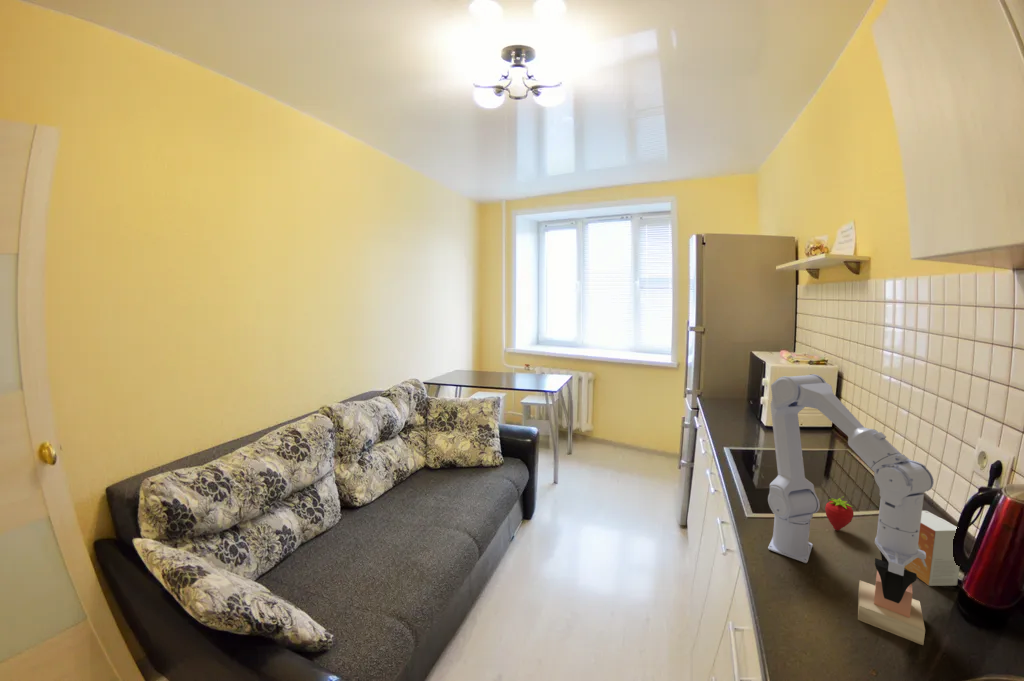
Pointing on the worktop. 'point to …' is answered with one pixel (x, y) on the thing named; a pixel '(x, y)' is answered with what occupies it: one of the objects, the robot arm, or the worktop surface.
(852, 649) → the worktop surface
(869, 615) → the birch base block
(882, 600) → the terracotta cube
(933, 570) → the small box
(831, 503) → the strawberry
